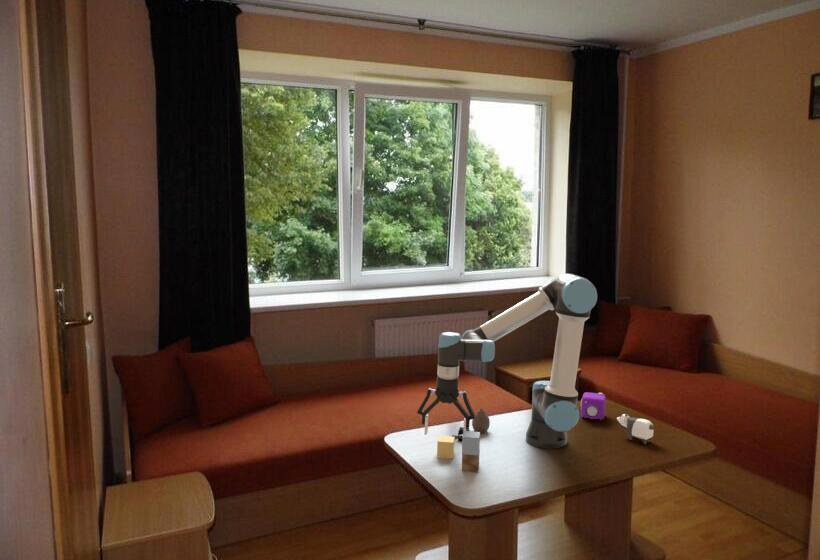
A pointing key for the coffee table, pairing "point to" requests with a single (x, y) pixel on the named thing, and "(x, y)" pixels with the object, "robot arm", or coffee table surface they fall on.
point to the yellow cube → (445, 446)
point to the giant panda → (637, 427)
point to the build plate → (460, 432)
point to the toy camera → (593, 405)
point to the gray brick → (471, 443)
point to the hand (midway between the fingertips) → (445, 435)
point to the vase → (481, 421)
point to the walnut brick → (470, 462)
